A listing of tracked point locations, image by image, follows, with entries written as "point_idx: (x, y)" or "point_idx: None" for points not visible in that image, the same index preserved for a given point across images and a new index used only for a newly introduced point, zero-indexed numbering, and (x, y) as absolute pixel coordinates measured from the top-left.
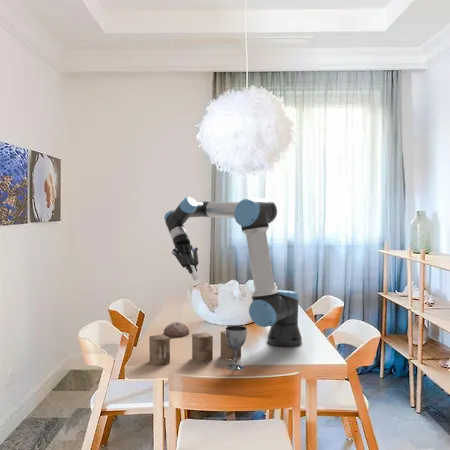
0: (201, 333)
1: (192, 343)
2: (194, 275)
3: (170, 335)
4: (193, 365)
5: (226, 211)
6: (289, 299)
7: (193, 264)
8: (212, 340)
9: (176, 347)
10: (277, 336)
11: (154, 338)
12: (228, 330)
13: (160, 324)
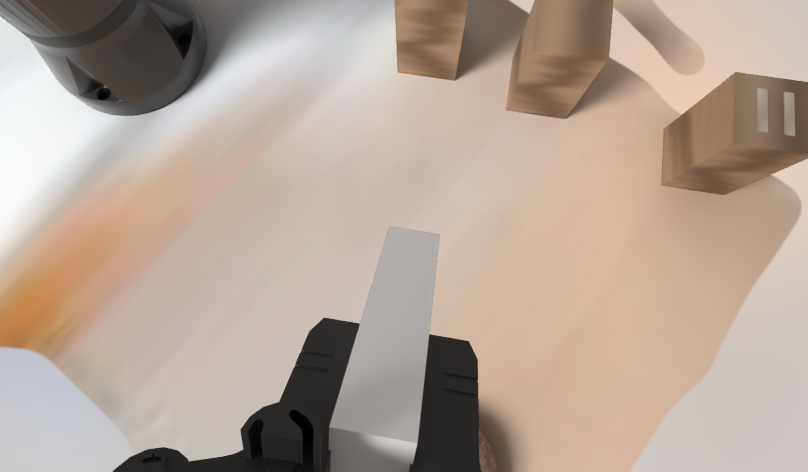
0: (563, 42)
1: (590, 82)
2: (436, 261)
3: (486, 438)
4: None
5: None
6: None
7: (318, 455)
8: (535, 1)
9: (544, 275)
10: (180, 5)
11: (805, 110)
12: None
13: None
